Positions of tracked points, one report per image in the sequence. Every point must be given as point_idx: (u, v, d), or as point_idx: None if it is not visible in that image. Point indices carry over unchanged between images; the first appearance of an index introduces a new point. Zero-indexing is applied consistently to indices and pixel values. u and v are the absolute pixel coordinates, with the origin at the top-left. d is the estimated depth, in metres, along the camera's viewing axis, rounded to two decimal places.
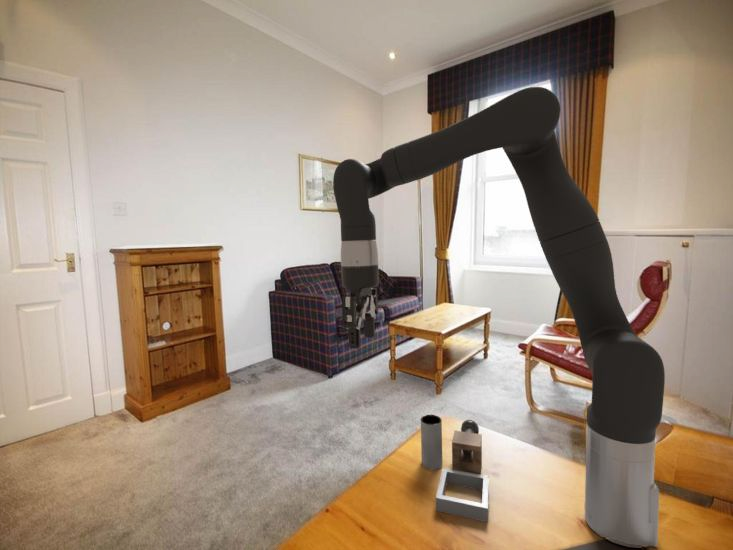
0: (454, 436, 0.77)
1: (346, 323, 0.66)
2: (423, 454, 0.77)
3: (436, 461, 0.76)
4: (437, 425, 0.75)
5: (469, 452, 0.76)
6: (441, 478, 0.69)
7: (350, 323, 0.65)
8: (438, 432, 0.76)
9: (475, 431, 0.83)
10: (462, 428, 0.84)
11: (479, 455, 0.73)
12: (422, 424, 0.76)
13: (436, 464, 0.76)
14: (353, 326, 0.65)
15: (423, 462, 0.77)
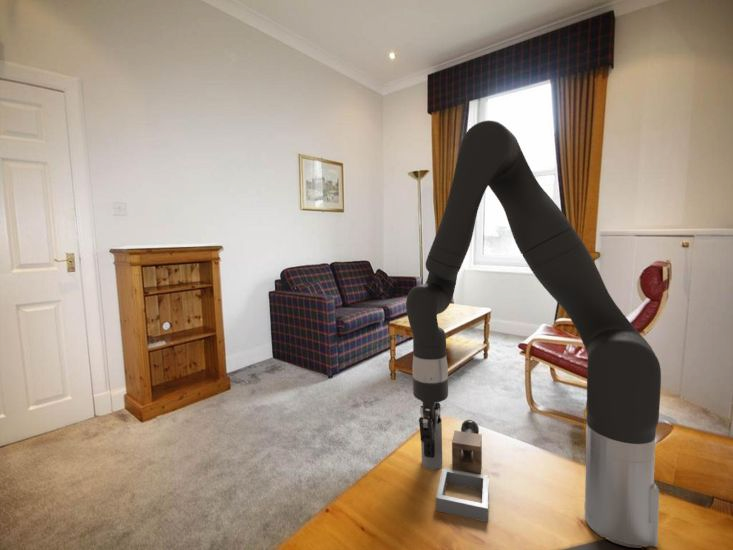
0: (454, 436, 0.77)
1: (424, 438, 0.73)
2: (423, 454, 0.77)
3: (436, 461, 0.76)
4: None
5: (469, 452, 0.76)
6: (441, 478, 0.69)
7: (428, 439, 0.72)
8: (438, 432, 0.76)
9: (475, 431, 0.83)
10: (462, 428, 0.84)
11: (479, 455, 0.73)
12: None
13: (436, 464, 0.76)
14: (432, 442, 0.72)
15: (423, 462, 0.77)
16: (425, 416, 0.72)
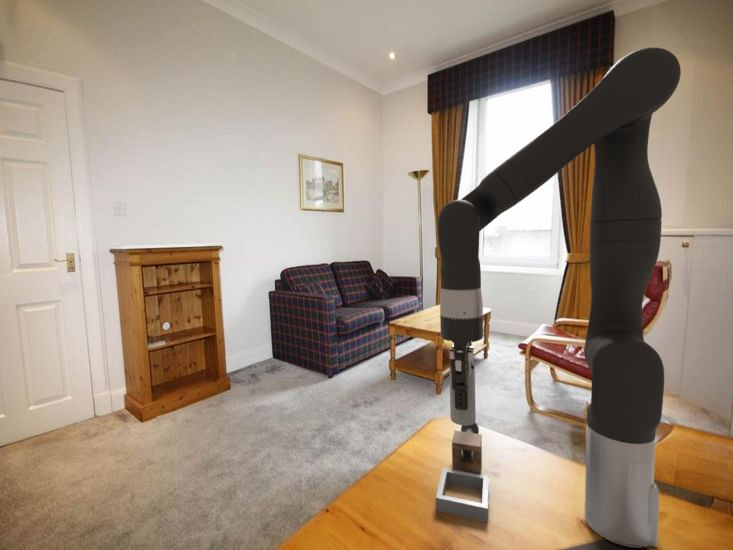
0: (454, 436, 0.77)
1: (457, 385, 0.60)
2: (452, 407, 0.65)
3: (469, 415, 0.64)
4: None
5: (469, 452, 0.76)
6: (441, 478, 0.69)
7: (462, 385, 0.60)
8: (471, 380, 0.63)
9: (475, 431, 0.83)
10: (462, 428, 0.84)
11: (479, 455, 0.73)
12: None
13: (469, 418, 0.64)
14: (466, 389, 0.60)
15: (453, 417, 0.65)
16: (458, 358, 0.60)
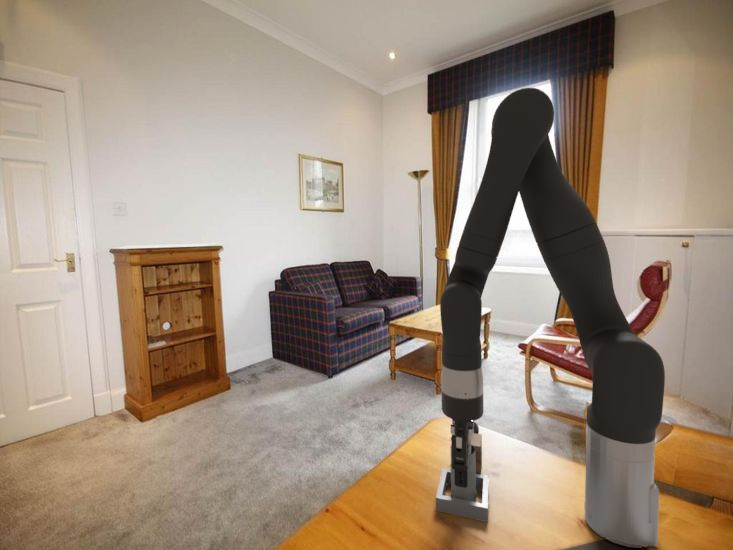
0: None
1: (456, 465, 0.60)
2: (453, 488, 0.66)
3: (470, 498, 0.65)
4: (471, 455, 0.64)
5: None
6: (441, 478, 0.69)
7: (461, 466, 0.60)
8: (472, 463, 0.65)
9: (475, 431, 0.83)
10: None
11: (479, 455, 0.73)
12: None
13: None
14: (466, 469, 0.59)
15: None
16: (458, 434, 0.61)
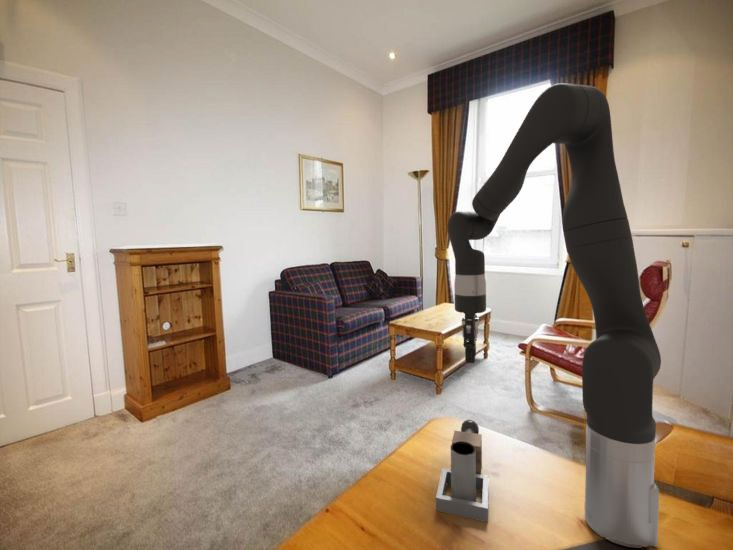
0: (454, 436, 0.77)
1: (467, 343, 0.84)
2: (453, 488, 0.66)
3: (470, 498, 0.65)
4: (471, 455, 0.64)
5: None
6: (441, 478, 0.69)
7: (470, 343, 0.83)
8: (472, 463, 0.65)
9: (475, 431, 0.83)
10: (462, 428, 0.84)
11: (479, 455, 0.73)
12: (453, 454, 0.65)
13: None
14: (474, 346, 0.83)
15: None
16: (468, 323, 0.83)
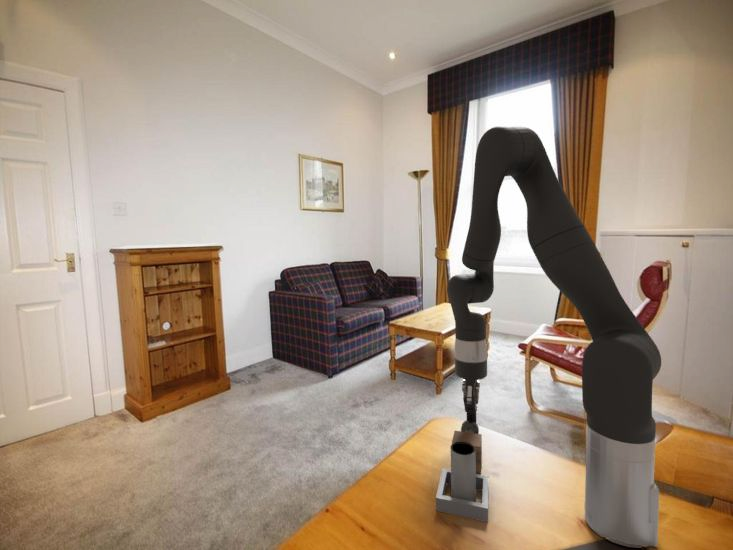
0: (454, 436, 0.77)
1: (468, 408, 0.84)
2: (453, 488, 0.66)
3: (470, 498, 0.65)
4: (471, 455, 0.64)
5: None
6: (441, 478, 0.69)
7: (472, 409, 0.83)
8: (472, 463, 0.65)
9: (475, 431, 0.83)
10: (462, 428, 0.84)
11: (479, 455, 0.73)
12: (453, 454, 0.65)
13: None
14: (475, 412, 0.83)
15: None
16: (468, 395, 0.81)
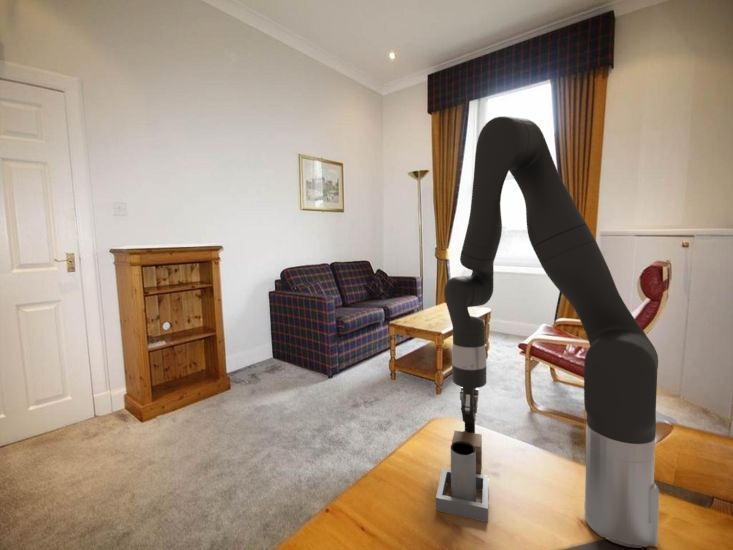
0: (454, 436, 0.77)
1: (466, 418, 0.79)
2: (453, 488, 0.66)
3: (470, 498, 0.65)
4: (471, 455, 0.64)
5: None
6: (441, 478, 0.69)
7: (470, 419, 0.79)
8: (472, 463, 0.65)
9: None
10: None
11: (479, 455, 0.73)
12: (453, 454, 0.65)
13: None
14: (473, 422, 0.78)
15: None
16: (466, 404, 0.76)
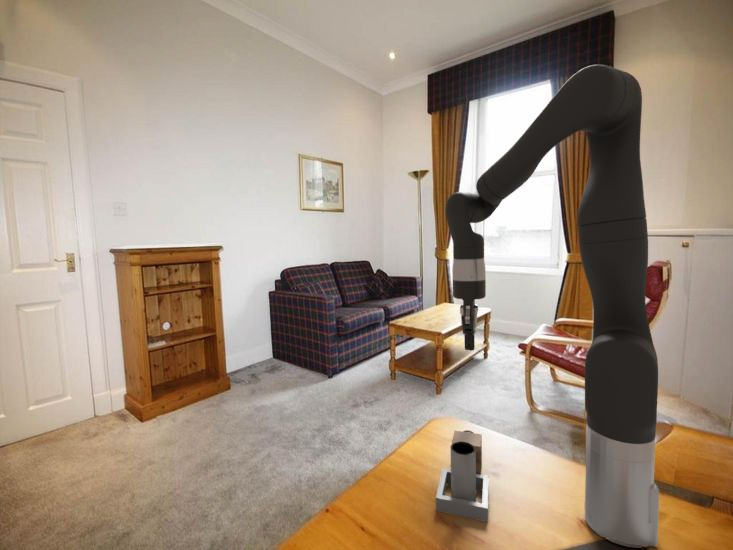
0: (454, 436, 0.77)
1: (466, 330, 0.82)
2: (453, 488, 0.66)
3: (470, 498, 0.65)
4: (471, 455, 0.64)
5: None
6: (441, 478, 0.69)
7: (470, 330, 0.81)
8: (472, 463, 0.65)
9: None
10: None
11: (479, 455, 0.73)
12: (453, 454, 0.65)
13: None
14: (473, 333, 0.81)
15: None
16: (466, 314, 0.79)
